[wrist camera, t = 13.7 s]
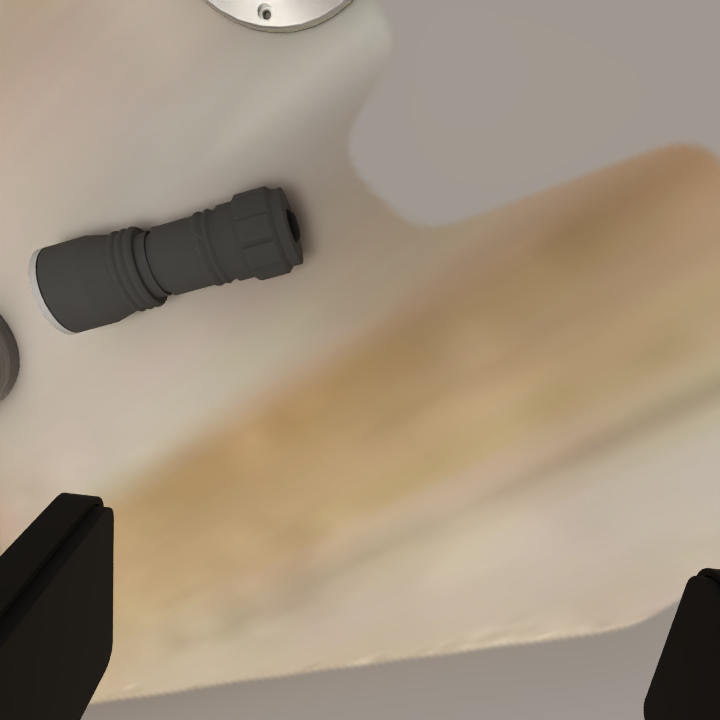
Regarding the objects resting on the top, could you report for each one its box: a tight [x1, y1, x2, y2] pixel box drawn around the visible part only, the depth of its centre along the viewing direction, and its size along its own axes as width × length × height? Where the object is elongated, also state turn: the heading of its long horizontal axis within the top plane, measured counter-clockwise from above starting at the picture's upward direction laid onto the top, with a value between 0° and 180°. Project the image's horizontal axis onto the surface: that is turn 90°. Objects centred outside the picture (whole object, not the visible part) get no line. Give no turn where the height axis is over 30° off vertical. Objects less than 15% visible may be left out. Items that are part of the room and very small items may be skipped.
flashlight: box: [29, 186, 303, 334], centre depth 35 cm, size 15×5×5 cm, turn 105°
